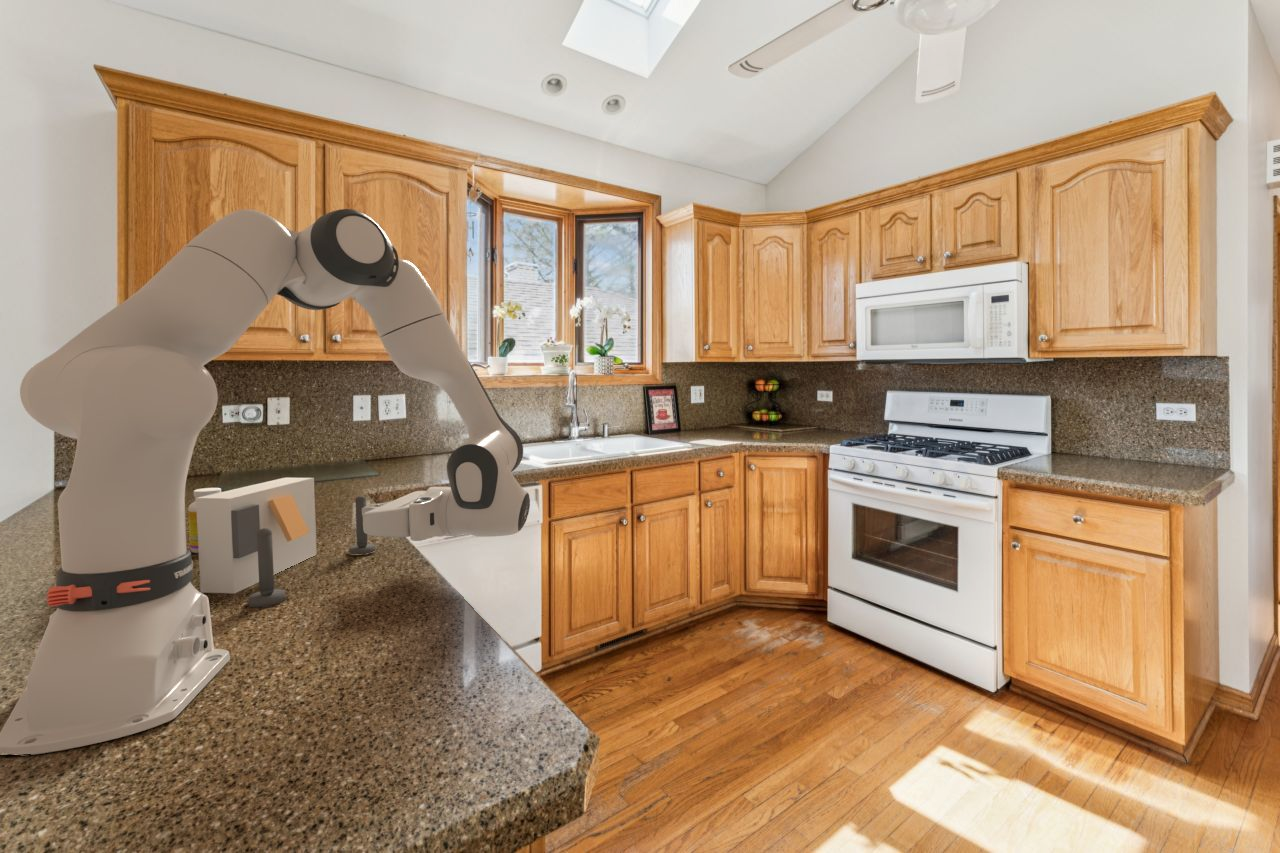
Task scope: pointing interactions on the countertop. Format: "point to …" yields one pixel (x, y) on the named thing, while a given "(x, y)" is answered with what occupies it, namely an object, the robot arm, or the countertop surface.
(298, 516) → the orange paddle
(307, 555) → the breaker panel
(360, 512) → the post
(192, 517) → the supplement bottle
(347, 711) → the countertop surface
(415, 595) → the countertop surface
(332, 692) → the countertop surface
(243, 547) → the black paddle
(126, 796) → the countertop surface
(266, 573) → the post
